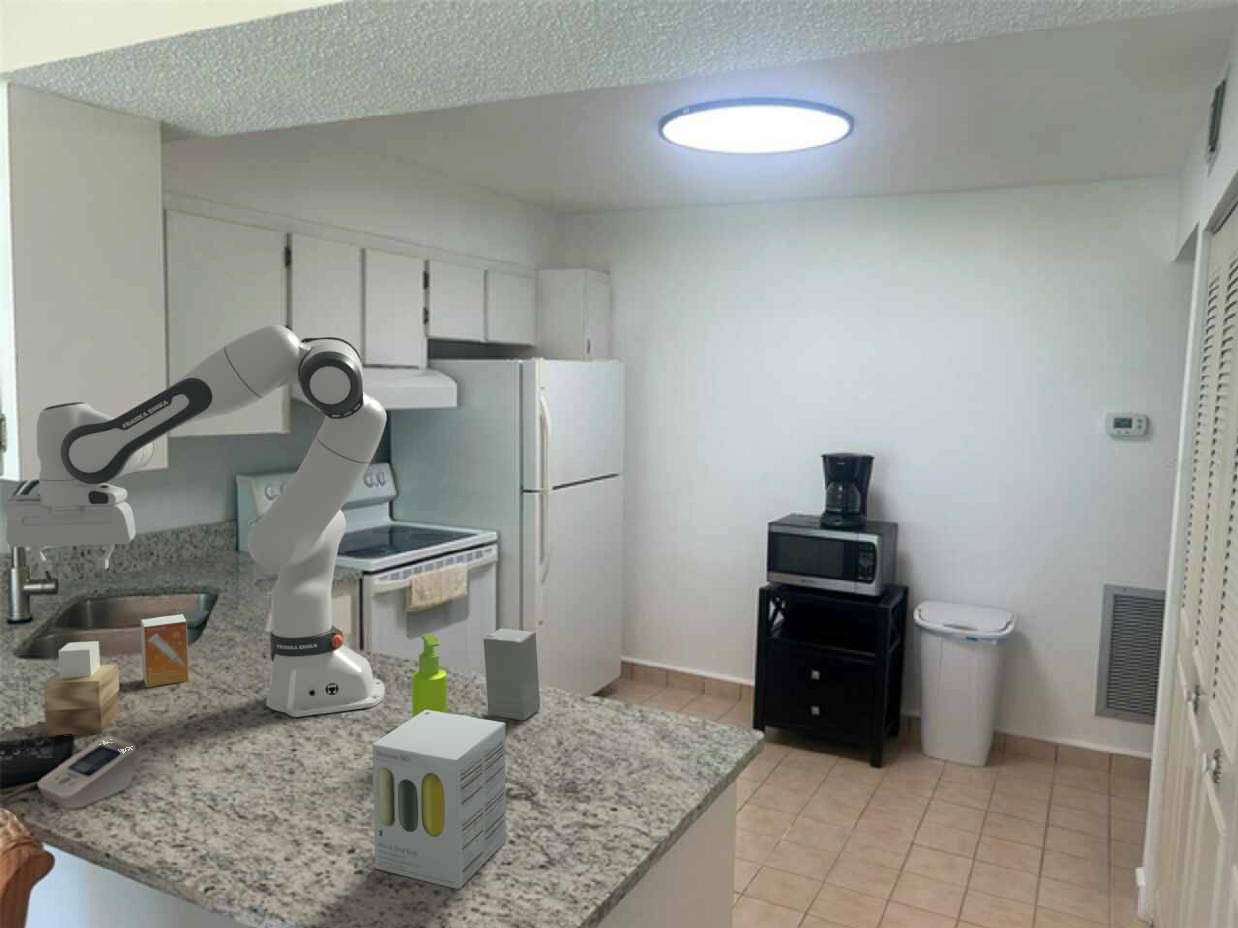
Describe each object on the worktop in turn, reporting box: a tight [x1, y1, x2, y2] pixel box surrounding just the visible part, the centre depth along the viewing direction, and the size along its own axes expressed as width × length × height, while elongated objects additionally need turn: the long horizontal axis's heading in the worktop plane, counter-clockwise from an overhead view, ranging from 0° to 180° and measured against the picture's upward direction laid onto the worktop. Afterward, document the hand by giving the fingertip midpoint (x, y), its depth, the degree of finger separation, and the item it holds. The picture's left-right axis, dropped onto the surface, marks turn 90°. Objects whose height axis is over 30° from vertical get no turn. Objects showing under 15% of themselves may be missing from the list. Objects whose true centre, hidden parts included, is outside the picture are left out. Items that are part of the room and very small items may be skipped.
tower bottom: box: [44, 690, 120, 737], centre depth 164 cm, size 9×9×5 cm
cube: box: [57, 640, 101, 678], centre depth 163 cm, size 5×5×5 cm
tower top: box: [43, 663, 120, 712], centre depth 164 cm, size 9×9×5 cm
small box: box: [140, 613, 190, 688], centre depth 187 cm, size 8×6×13 cm
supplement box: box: [371, 710, 507, 890], centre depth 121 cm, size 13×13×18 cm
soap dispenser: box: [411, 633, 448, 718], centre depth 155 cm, size 6×7×20 cm
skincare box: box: [483, 627, 541, 721], centre depth 171 cm, size 8×7×16 cm
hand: (74, 569), depth 162 cm, fingers open, 8 cm apart
